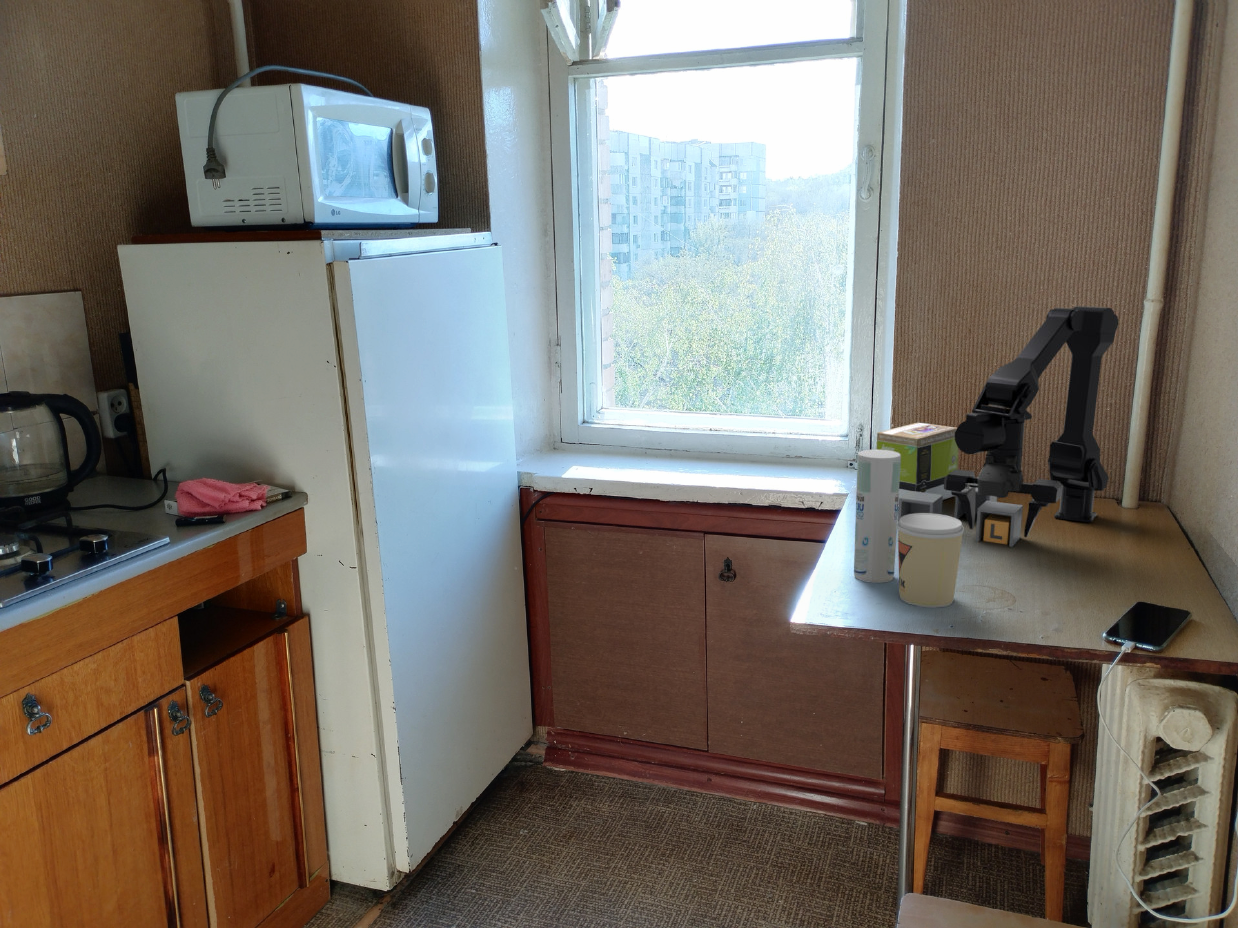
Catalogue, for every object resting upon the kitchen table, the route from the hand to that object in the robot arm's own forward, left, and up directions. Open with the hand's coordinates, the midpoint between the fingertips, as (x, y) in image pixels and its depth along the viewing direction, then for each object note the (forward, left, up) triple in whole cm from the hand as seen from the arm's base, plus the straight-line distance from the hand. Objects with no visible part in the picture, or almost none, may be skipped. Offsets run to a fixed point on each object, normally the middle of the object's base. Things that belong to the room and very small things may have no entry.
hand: (998, 532), depth 172 cm
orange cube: (0, 0, -1) cm, 1 cm away
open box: (-12, -7, -1) cm, 14 cm away
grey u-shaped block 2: (0, -14, -1) cm, 14 cm away
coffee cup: (+35, -2, -2) cm, 35 cm away
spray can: (+30, -12, -1) cm, 32 cm away
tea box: (-20, -21, -2) cm, 29 cm away
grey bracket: (0, 0, -1) cm, 1 cm away
